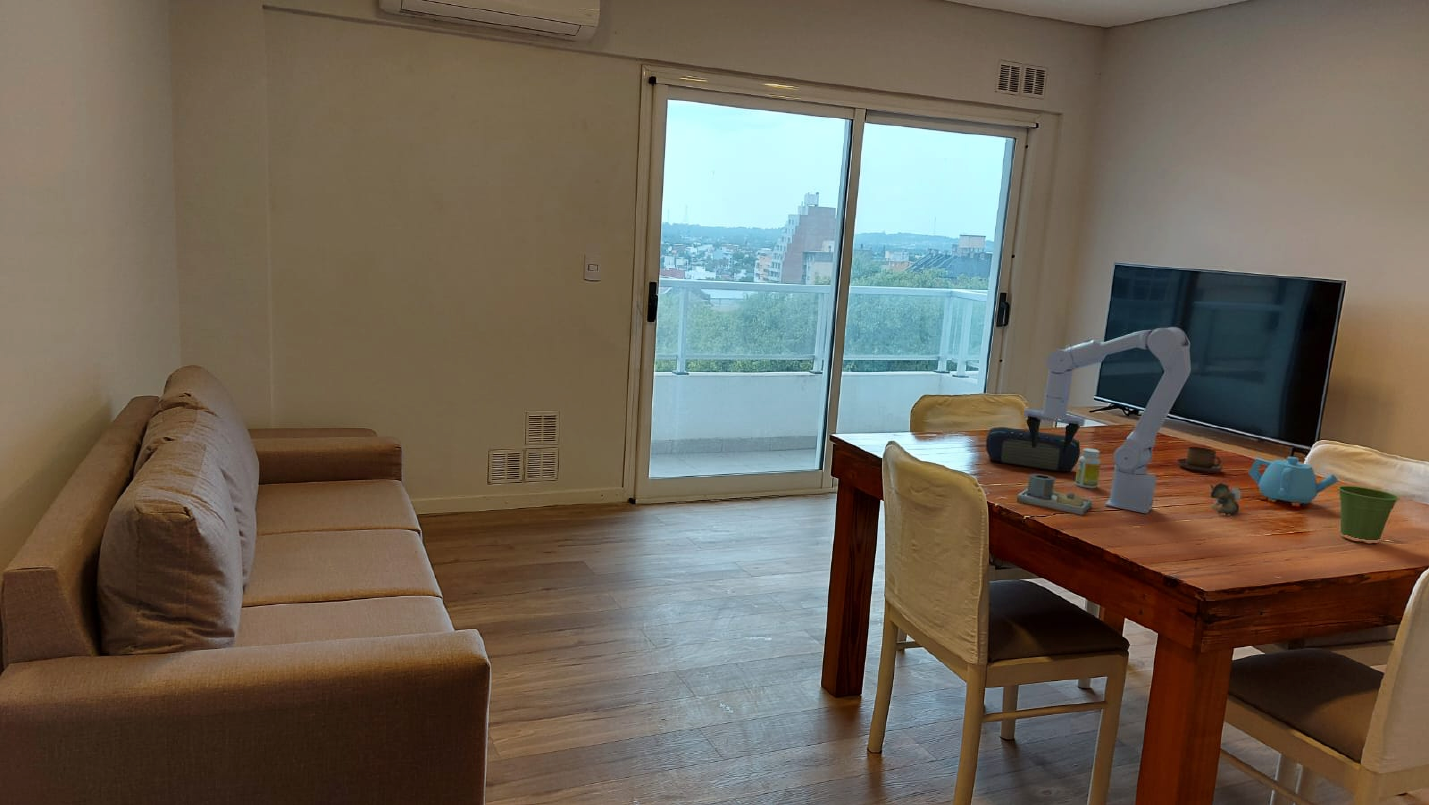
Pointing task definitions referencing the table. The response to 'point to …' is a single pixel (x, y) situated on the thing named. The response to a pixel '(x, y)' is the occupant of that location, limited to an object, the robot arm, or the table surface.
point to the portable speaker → (1031, 449)
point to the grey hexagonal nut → (1041, 486)
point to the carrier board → (1059, 502)
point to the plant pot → (1364, 511)
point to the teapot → (1289, 480)
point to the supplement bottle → (1088, 469)
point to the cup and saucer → (1201, 460)
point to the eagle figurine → (1226, 498)
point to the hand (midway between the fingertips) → (1049, 449)
